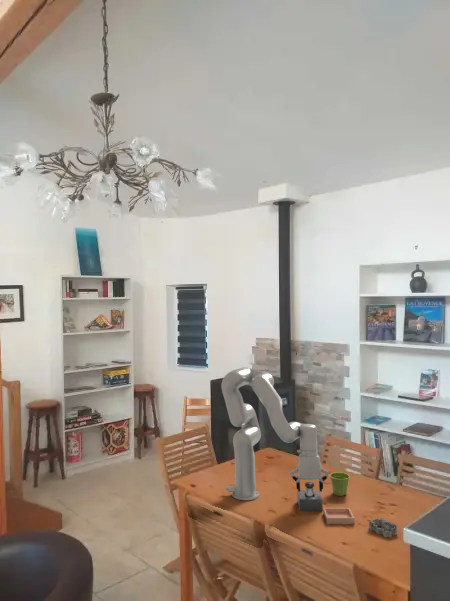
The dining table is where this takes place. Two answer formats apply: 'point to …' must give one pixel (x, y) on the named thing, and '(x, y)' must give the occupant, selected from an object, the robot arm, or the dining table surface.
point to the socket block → (310, 501)
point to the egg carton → (383, 527)
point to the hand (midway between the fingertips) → (309, 490)
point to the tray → (338, 516)
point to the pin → (309, 489)
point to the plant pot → (339, 483)
